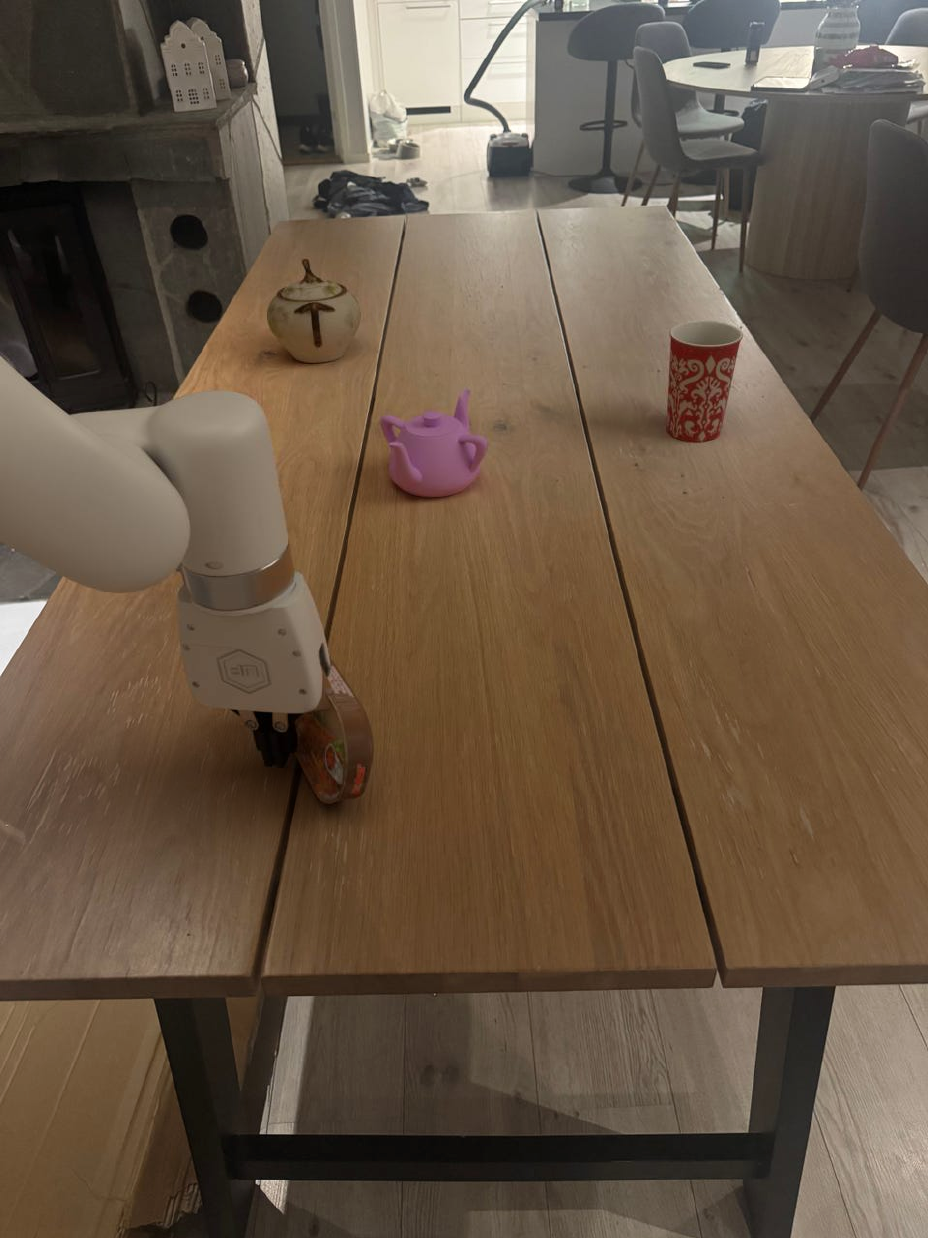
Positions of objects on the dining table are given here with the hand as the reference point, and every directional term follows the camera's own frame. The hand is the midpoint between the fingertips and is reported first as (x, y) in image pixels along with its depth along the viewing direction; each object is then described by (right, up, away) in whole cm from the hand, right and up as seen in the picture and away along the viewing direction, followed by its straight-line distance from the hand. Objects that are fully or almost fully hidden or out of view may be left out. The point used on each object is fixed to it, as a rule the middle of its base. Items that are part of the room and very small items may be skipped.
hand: (279, 754), depth 76 cm
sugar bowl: (-9, +55, +77) cm, 95 cm away
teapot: (+12, +29, +40) cm, 51 cm away
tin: (+3, -1, +1) cm, 3 cm away
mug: (+46, +37, +50) cm, 78 cm away
